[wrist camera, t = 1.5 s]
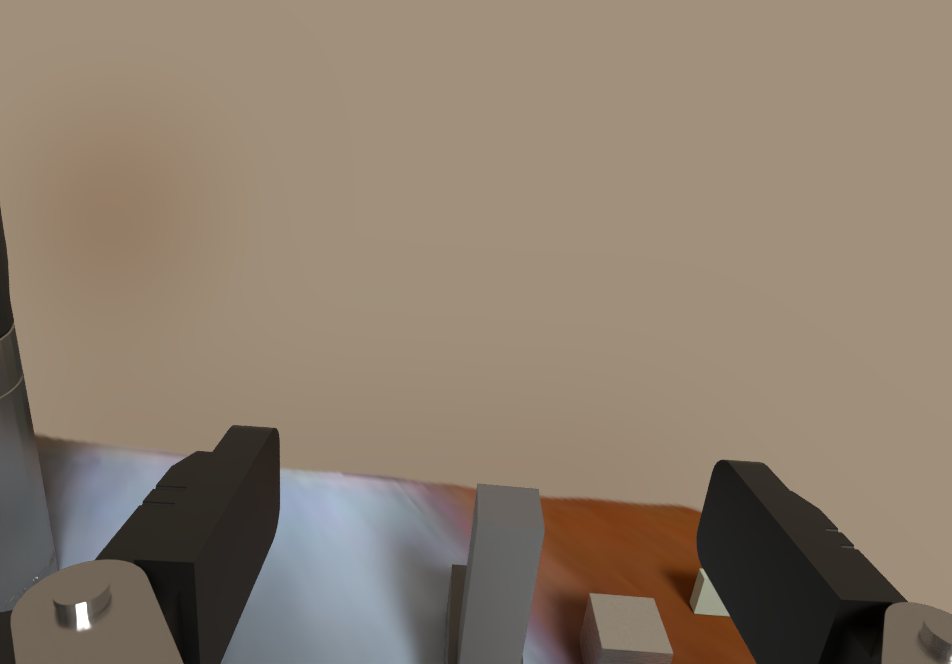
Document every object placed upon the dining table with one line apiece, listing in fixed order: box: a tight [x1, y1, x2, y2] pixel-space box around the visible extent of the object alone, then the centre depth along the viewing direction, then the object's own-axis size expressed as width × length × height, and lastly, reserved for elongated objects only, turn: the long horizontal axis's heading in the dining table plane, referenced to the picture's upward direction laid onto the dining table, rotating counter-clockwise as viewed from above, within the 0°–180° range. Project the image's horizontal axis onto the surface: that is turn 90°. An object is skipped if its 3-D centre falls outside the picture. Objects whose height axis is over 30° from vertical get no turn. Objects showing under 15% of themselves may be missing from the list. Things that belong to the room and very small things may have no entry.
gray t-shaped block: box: [444, 484, 545, 664], centre depth 31 cm, size 4×14×14 cm, turn 0°
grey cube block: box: [579, 593, 673, 664], centre depth 36 cm, size 4×4×4 cm
